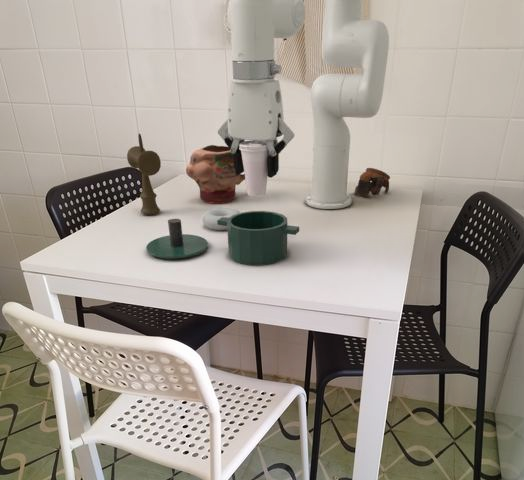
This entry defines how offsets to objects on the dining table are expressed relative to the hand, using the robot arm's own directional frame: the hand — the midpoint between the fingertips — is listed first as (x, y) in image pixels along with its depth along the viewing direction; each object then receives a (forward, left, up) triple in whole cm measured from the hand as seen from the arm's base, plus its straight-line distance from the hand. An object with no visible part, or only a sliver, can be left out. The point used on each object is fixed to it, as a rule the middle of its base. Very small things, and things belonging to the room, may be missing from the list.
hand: (256, 173), depth 100 cm
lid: (+4, -18, -16) cm, 25 cm away
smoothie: (0, 0, -4) cm, 4 cm away
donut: (-14, -16, -17) cm, 27 cm away
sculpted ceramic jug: (-35, -27, -17) cm, 47 cm away
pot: (0, 0, -17) cm, 17 cm away
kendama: (-16, -39, -17) cm, 46 cm away
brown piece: (-53, +13, -17) cm, 57 cm away
